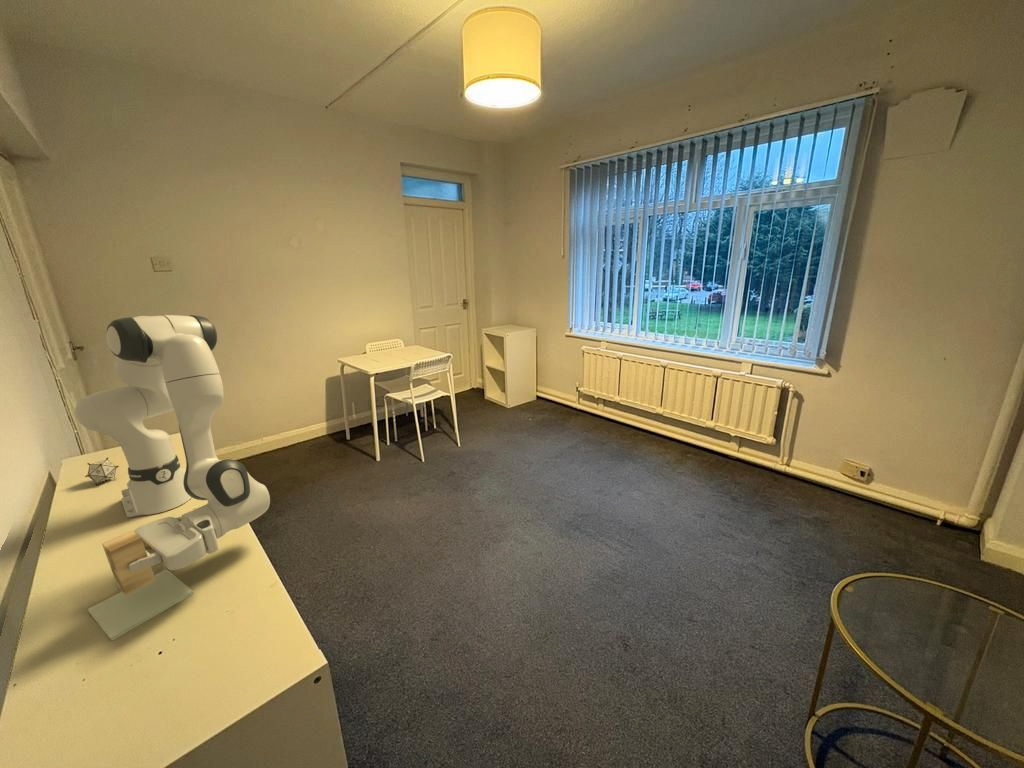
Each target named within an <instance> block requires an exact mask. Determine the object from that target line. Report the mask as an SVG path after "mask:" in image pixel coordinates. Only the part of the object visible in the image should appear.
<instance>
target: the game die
mask: <svg viewBox="0 0 1024 768" xmlns="http://www.w3.org/2000/svg"><path fill="white" fill-rule="evenodd" d="M86 464H87V465H88V471H87V474H86V475H85V476H84V478H89V479H91V480H92V481H93V482H94V483H96V484H97V483H98V484H100V483H99V482H101V483H103V482H102V481H104V482H106V481H105V480H107V481H109V480H108V479H110V480H112V479H111V478H113V477H114V478H116V477H115V476H116V472H117V468H119V467H120V466H119V465H114V464H113V462H111V461H110V460H109V457H106V458H105V459H104V460H100V461H97V462H93V463H89V462H87V463H86ZM114 478H113V479H114Z"/></svg>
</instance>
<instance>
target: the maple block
mask: <svg viewBox="0 0 1024 768" xmlns="http://www.w3.org/2000/svg"><path fill="white" fill-rule="evenodd" d="M101 544H102V547H103V551H104V553H105V556H106V559H107V562H108V563H109V567H110V569H111V572H112V575H113V577H114V581H115V584H116V586H117V588H118V589H119V590H120V592H123V593H124V594H125V595H126V596H127V595H129V594H131V593H133V592H135V591H137V590H139V589H141V588H142V587H144V586H146V585H148V584H150V583H152V582H154V581H156V580H155V577H154V575H155V574H154V571H153V568H152V566H149V567H145V568H141V569H139V570H137V571H135V572H131V571H130V570H129V569H128V566H127V564H128V563H129V562H131V561H133V560H135V559H138V560H139V559H142V558H145V557H148V552H147V551H146V550H145V547H144V544H143V541H142V538H141V537H140V536H139V535H137V534H136V533H135V532H134V530H131V531H129V532H127V533H126V532H125V533H124V534H121V535H119V536H117V537H115V538H112V539H110V540H107V541H105V542H103V543H101Z"/></svg>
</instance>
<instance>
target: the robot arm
mask: <svg viewBox="0 0 1024 768" xmlns="http://www.w3.org/2000/svg"><path fill="white" fill-rule="evenodd" d="M105 339H106V343H107V347H109V350H110V351H111V353H112V354H113V355H114V356H115V359H114V364H113V365H114V367H113V371H114V374H115V376H116V377H117V378H118V379H119V381H121V382H123V383H125V384H126V385H121V386H118V387H117V386H116V387H113V388H108V389H105V390H100V391H98V392H94V393H91V394H90V395H87V396H84V397H82V398H80V399H79V400H78V402H76V405H75V408H74V415H75V418H76V420H77V422H78V423H79V425H81V426H83V427H84V428H86V429H88V430H89V431H93V432H94V431H95V432H99V433H101V434H104V435H107V436H109V437H111V438H112V439H113V440H115V442H116V443H118V445H119V446H120V447H121V450H122V452H123V455H124V457H125V460H126V462H127V465H128V468H127V474H128V477H129V480H128V482H127V483H126V486H127V488H126V489H125V488H124V489H122V490H121V491H120V492H121V495H122V498H121V502H122V506H123V510H124V513H126V514H125V517H126V518H134V517H137V516H146V515H147V516H150V515H155V514H159V513H164V512H167V511H169V510H172V509H175V508H177V507H180V506H181V505H183V504H185V503H187V502H188V501H190V499H192V498H193V499H195V500H197V501H207V504H203V505H202V506H199V507H198V508H194V509H192V510H190V511H188V512H186V513H183V514H182V515H181V516H178V517H174V516H166V517H162V518H160V519H157V520H154V521H152V522H149V523H147V524H144V525H141V526H139V527H137V528H136V529H134V530H133V531H134V532H135V533H136V534H137V535H139V536H140V537H141V538H142V541H143V544H144V547H145V550H146V553H147V554H148V553H149V556H148V555H147V556H148V557H145V558H142V559H139V560H138V559H135V560H133V561H131V562H129V563H128V564H127V566H128V569H129V570H130V571H131V572H135V571H137V570H139V569H141V568H145V567H149V566H151V567H152V566H155V565H158V564H160V563H161V564H162V565H163V566H164V567H165V568H166V569H167V570H168V571H176V570H179V569H182V568H185V567H187V566H188V565H190V564H193V563H195V562H196V561H198V560H200V559H202V558H203V557H206V555H207V554H208V555H210V554H213V553H215V552H218V551H219V549H220V548H219V543H218V539H220V538H222V537H223V536H224V535H226V534H227V533H229V532H230V531H232V530H237V529H239V528H242V527H243V526H245V525H247V524H249V523H251V522H253V521H255V520H256V519H258V518H259V517H260V516H262V515H264V514H265V513H266V512H267V510H268V509H269V507H270V503H271V496H270V495H271V494H270V491H269V490H268V488H267V487H266V485H265V484H263V483H260V482H259V481H257V480H256V479H255V478H254V477H252V476H251V475H250V473H249V472H248V471H247V469H246V467H245V465H244V464H243V463H241V462H240V461H238V460H235V459H219V458H218V456H217V453H216V450H215V449H216V448H215V444H214V439H213V435H212V428H211V427H212V426H211V424H212V421H213V418H214V415H216V412H217V411H218V409H219V408H220V407H221V405H222V404H223V402H224V398H225V396H224V395H225V393H224V384H223V380H222V376H221V373H220V369H219V366H218V364H217V361H216V359H215V357H214V356H215V355H214V354H213V352H212V351H213V350H214V349H215V347H216V345H217V342H218V334H217V330H216V327H215V325H214V324H213V322H212V321H211V320H210V319H208V318H207V317H204V316H200V315H195V314H194V315H192V314H190V315H179V314H178V315H177V314H162V315H161V314H160V315H138V316H134V317H131V316H130V317H122V318H118V319H115V320H112V321H111V322H110V323H109V324H108V325H107V327H106V335H105ZM172 411H174V413H175V417H176V420H177V423H178V428H179V434H180V439H181V442H182V447H183V451H184V452H183V453H184V457H185V461H186V462H185V463H186V467H185V468H184V467H181V464H180V463H181V462H180V459H179V456H178V455H177V454H176V453H175V452H176V451H175V449H174V445H173V443H172V439H171V435H170V434H169V433H168V432H166V431H165V430H162V429H158V428H151V427H150V428H149V427H148V428H146V427H145V424H144V422H143V421H145V420H148V419H150V418H155V417H157V416H160V415H164V414H168V413H171V412H172Z"/></svg>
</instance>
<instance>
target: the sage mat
mask: <svg viewBox="0 0 1024 768" xmlns="http://www.w3.org/2000/svg"><path fill="white" fill-rule="evenodd" d="M154 577H155V580H156V581H154V582H152V583H150V584H148V585H146V586H144V587H142V588H141V589H139V590H137V591H135V592H133V593H131V594H129V595H127V596H126V595H125V594H124V593H123V592H122V591H120V592H119V593H117V594H115V595H113V596H110V597H109V598H107V599H105V600H103V601H100V602H99V603H97V604H95V605H93V606H91V607H89V608H88V609H87V610H88V612H89V614H90V616H92V618H93V619H94V620H95V621H96V623H97V624H98V625H99V627H100V628H101V629H102V630H103V632H104V633H105V634H106V636H107V637H108V639H110V641H114V640H116V639H117V638H120V637H121V636H123V635H125V634H126V633H128V632H130V631H131V630H133V629H135V628H137V627H138V626H140V625H142V624H144V623H146V622H147V621H149V620H151V619H153V618H154V617H157V615H160V614H161V613H163V612H165V611H166V610H168V609H170V608H171V607H173V606H174V605H177V604H178V603H180V602H181V601H184V600H185V599H187V598H189V597H190V596H192V595H194V591H193V590H192V589H191V588H189V586H187V585H186V584H185V583H184V582H183V581H182V580H180V579H179V578H178V577H176V576H175V574H173V573H172V572H171V571H170V570H169V569H168V568H166V569H164V570H162V571H160V572H158V573H156V574H154Z"/></svg>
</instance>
